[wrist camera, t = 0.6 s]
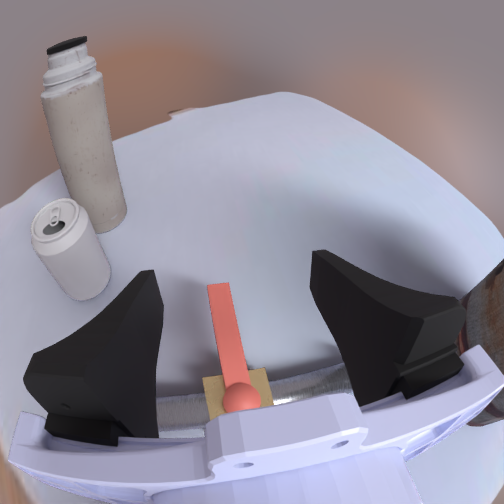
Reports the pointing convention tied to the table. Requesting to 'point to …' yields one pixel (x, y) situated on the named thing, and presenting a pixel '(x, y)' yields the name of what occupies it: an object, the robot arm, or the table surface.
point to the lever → (231, 351)
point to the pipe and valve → (272, 393)
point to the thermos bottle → (82, 133)
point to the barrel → (486, 333)
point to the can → (70, 249)
